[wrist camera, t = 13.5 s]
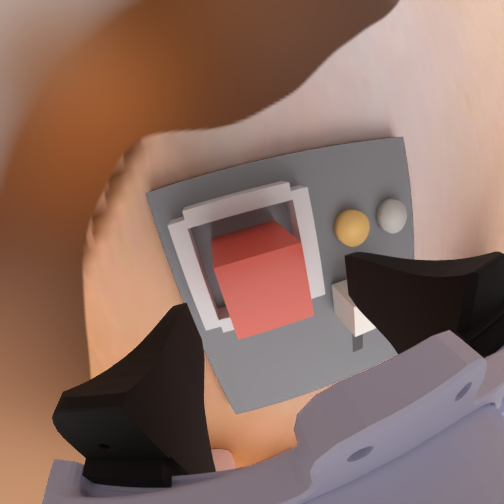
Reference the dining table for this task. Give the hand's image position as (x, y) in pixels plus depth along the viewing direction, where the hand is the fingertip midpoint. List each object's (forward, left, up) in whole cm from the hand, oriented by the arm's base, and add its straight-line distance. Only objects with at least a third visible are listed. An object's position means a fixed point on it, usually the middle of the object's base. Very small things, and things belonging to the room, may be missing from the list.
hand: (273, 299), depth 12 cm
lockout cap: (0, 0, -6) cm, 6 cm away
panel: (-4, +4, -7) cm, 9 cm away
